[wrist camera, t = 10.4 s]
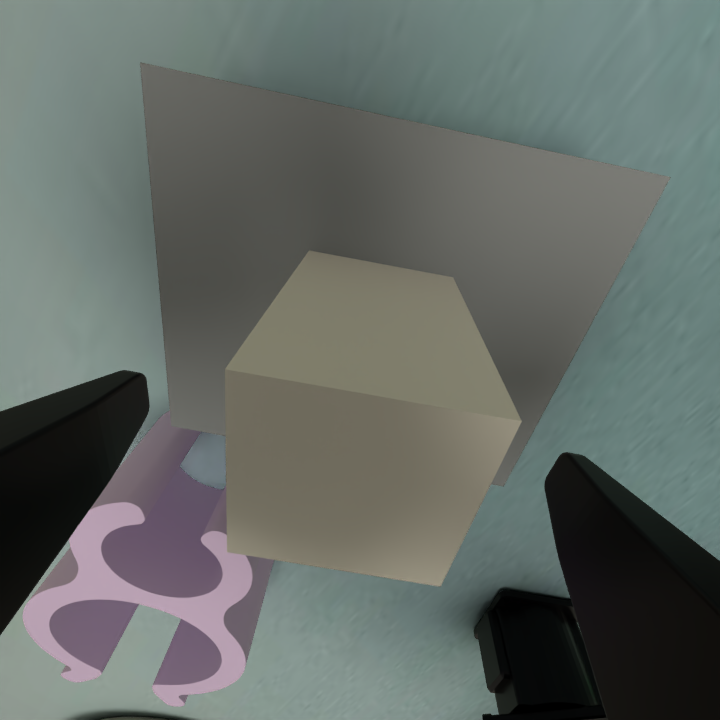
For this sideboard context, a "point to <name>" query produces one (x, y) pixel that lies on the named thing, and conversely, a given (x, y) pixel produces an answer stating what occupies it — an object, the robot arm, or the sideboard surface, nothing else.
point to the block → (362, 423)
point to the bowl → (134, 718)
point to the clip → (153, 575)
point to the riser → (372, 228)
